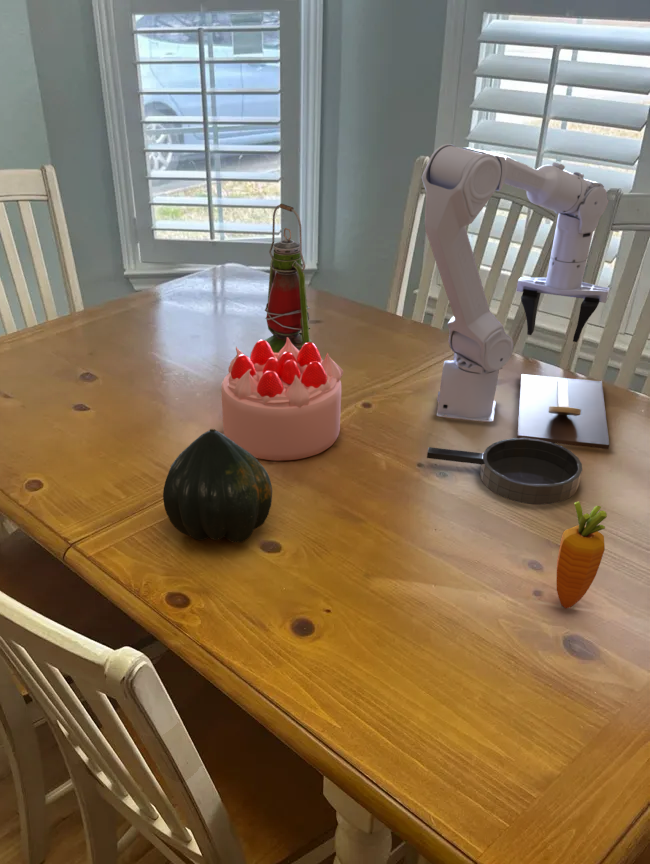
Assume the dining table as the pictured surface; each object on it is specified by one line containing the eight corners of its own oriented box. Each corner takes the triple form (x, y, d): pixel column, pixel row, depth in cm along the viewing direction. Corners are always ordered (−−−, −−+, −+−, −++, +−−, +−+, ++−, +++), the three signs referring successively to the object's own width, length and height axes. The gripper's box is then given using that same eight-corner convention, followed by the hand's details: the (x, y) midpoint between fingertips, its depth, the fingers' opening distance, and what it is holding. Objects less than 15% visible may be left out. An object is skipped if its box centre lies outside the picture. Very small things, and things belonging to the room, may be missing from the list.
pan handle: (426, 458, 126) (427, 452, 125) (428, 452, 127) (428, 446, 127) (482, 464, 124) (483, 459, 123) (483, 458, 125) (484, 453, 125)
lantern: (330, 370, 158) (335, 208, 141) (285, 384, 154) (285, 218, 136) (289, 347, 168) (289, 192, 150) (245, 359, 164) (240, 202, 146)
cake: (221, 409, 146) (217, 333, 138) (332, 403, 147) (335, 327, 139) (226, 465, 130) (221, 383, 122) (350, 458, 131) (354, 376, 123)
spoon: (582, 414, 133) (589, 370, 132) (549, 410, 134) (556, 367, 133) (570, 420, 147) (577, 381, 147) (541, 417, 149) (547, 378, 148)
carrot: (538, 596, 102) (562, 496, 94) (576, 593, 103) (604, 492, 94) (553, 622, 98) (580, 520, 90) (593, 619, 99) (624, 517, 90)
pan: (476, 499, 120) (479, 479, 118) (482, 452, 131) (485, 433, 129) (578, 512, 117) (583, 492, 115) (576, 463, 128) (580, 443, 126)
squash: (222, 547, 104) (258, 434, 104) (130, 518, 111) (164, 413, 111) (268, 562, 116) (300, 462, 117) (183, 535, 123) (213, 441, 124)
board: (516, 441, 134) (517, 435, 133) (520, 380, 152) (521, 374, 152) (607, 451, 130) (609, 445, 130) (600, 387, 149) (601, 381, 148)
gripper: (619, 255, 134) (600, 334, 142) (528, 245, 140) (515, 322, 148) (612, 268, 129) (593, 349, 137) (519, 257, 135) (506, 336, 143)
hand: (552, 336), depth 142 cm, fingers open, 7 cm apart
